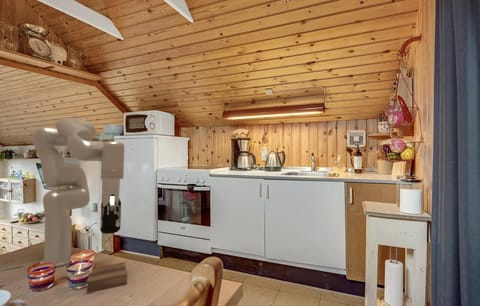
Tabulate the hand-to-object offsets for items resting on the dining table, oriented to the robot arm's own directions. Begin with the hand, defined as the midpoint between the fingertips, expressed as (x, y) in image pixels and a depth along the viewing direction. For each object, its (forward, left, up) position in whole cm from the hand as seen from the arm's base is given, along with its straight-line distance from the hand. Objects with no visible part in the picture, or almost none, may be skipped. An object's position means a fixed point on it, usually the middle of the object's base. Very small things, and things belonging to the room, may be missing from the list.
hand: (110, 222), depth 91 cm
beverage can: (0, 0, -3) cm, 3 cm away
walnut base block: (0, -1, -21) cm, 21 cm away
